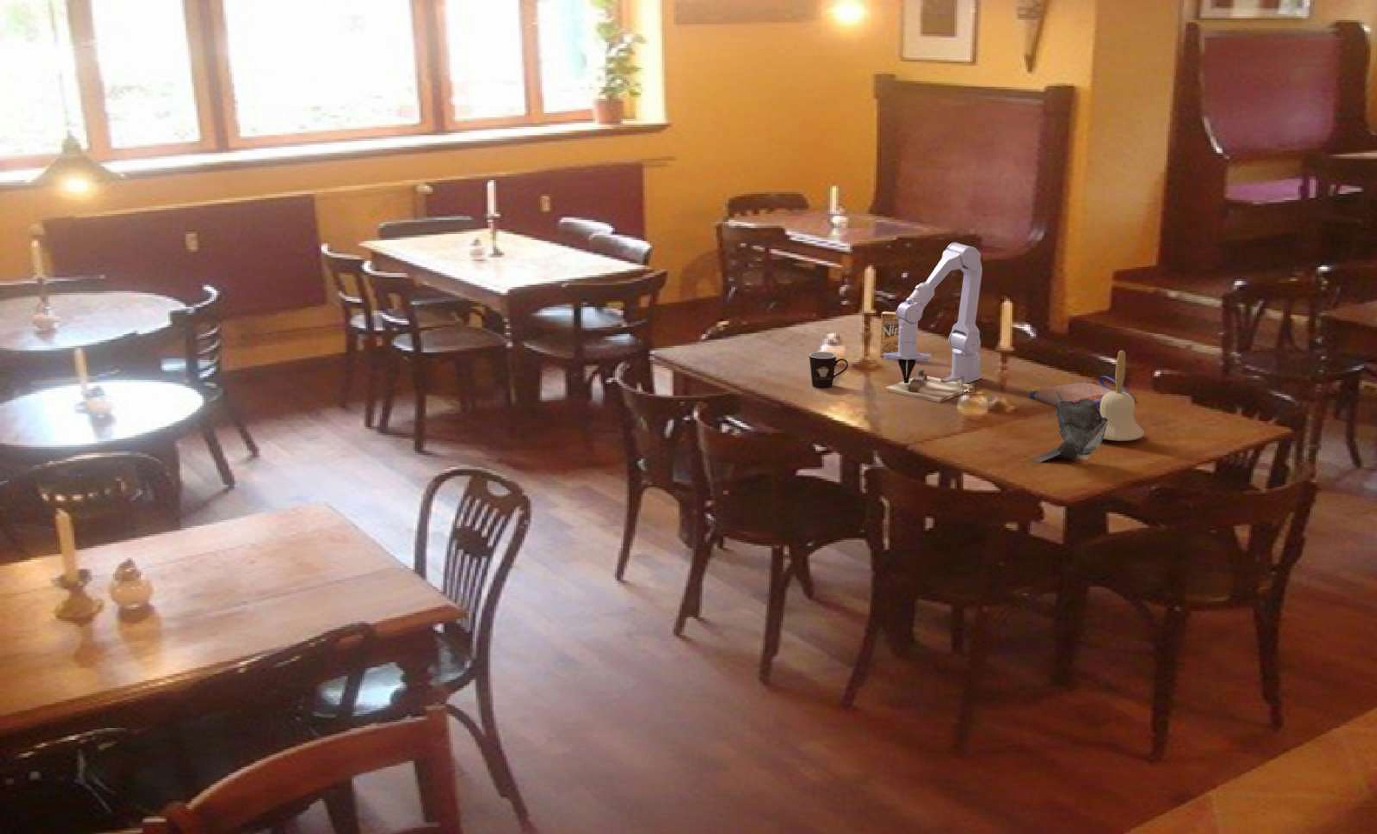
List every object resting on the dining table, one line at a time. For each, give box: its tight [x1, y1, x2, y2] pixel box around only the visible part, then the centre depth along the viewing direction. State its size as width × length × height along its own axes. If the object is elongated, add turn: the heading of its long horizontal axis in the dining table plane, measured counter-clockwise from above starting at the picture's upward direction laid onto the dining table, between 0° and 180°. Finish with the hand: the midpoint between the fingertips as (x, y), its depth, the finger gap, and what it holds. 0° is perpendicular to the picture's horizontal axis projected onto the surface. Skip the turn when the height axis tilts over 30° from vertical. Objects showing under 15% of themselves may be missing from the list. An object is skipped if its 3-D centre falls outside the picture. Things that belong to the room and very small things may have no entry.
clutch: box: [1029, 375, 1137, 408], centre depth 426 cm, size 28×5×20 cm
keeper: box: [940, 375, 965, 387], centre depth 435 cm, size 8×2×3 cm, turn 128°
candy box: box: [879, 310, 899, 358], centre depth 476 cm, size 9×4×15 cm, turn 70°
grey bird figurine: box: [1032, 391, 1108, 466], centre depth 367 cm, size 14×15×18 cm
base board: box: [884, 375, 970, 403], centre depth 438 cm, size 20×20×1 cm
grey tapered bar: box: [908, 369, 928, 391], centre depth 439 cm, size 17×4×3 cm, turn 162°
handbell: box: [1099, 350, 1145, 442], centre depth 386 cm, size 15×15×25 cm
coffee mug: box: [808, 351, 849, 389], centre depth 442 cm, size 12×9×10 cm
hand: (906, 382), depth 440 cm, fingers closed
